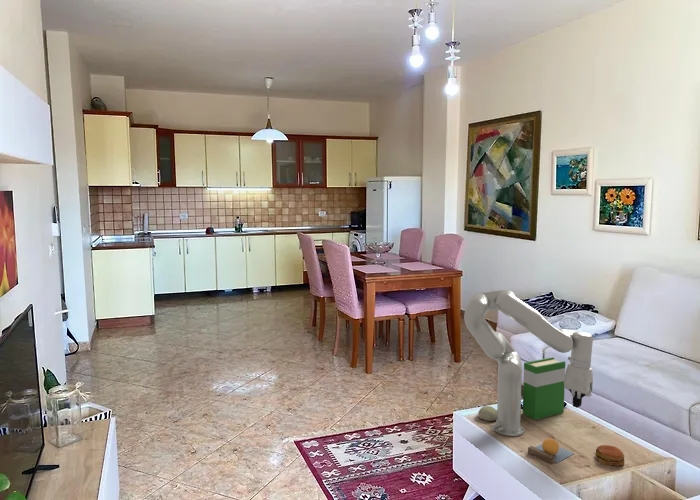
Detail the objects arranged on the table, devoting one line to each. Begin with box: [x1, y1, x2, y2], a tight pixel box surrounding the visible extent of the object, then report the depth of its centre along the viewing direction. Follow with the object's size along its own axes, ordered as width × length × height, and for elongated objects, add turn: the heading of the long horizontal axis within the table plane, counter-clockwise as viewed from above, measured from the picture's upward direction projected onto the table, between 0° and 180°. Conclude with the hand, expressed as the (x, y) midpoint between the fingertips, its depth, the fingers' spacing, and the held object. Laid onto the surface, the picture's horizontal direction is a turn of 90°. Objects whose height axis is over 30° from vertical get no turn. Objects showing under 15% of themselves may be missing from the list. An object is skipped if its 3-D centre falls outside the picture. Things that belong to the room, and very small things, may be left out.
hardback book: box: [522, 356, 566, 421], centre depth 234 cm, size 18×7×24 cm, turn 115°
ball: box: [541, 438, 560, 455], centre depth 197 cm, size 6×6×6 cm
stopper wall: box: [527, 445, 555, 465], centre depth 194 cm, size 2×10×2 cm, turn 36°
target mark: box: [534, 442, 575, 464], centre depth 199 cm, size 12×12×1 cm
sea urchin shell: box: [477, 405, 497, 422], centre depth 230 cm, size 9×8×8 cm
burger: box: [594, 444, 625, 467], centre depth 192 cm, size 10×9×5 cm
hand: (576, 406), depth 209 cm, fingers closed
